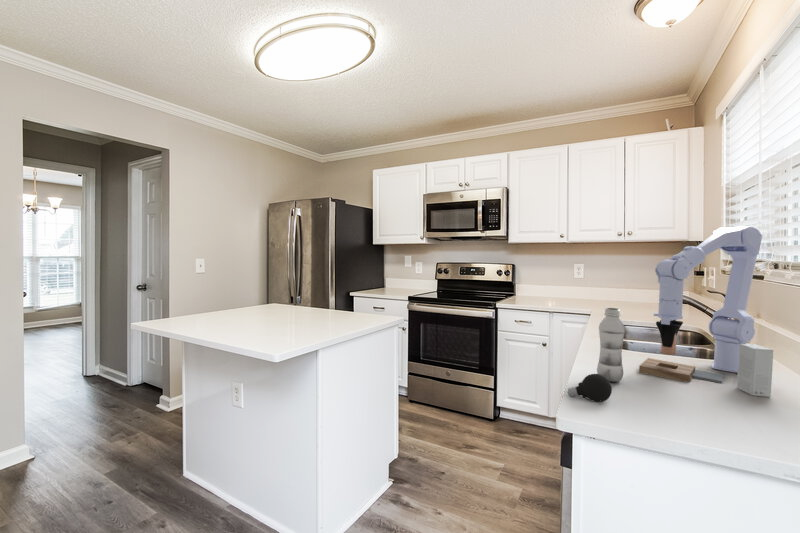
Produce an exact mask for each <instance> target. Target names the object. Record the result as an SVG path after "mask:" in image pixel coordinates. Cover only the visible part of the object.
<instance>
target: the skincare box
mask: <svg viewBox="0 0 800 533" xmlns="http://www.w3.org/2000/svg"><path fill="white" fill-rule="evenodd" d="M773 362H774V350H773V349H771V348H768V347H765V346H762V345H759V344H753V343H746V344H740V348H739V364H738V373H737V384H736V388H737V389H739V390H741V391H743V392H744V393H747V394H749V395H751V396H755V397H766V398H767V397H768V398H770V397H771V396H772V383H773V382H772V380H773V364H774V363H773Z"/></svg>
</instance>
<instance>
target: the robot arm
mask: <svg viewBox="0 0 800 533" xmlns="http://www.w3.org/2000/svg"><path fill="white" fill-rule="evenodd" d="M762 240H763V235H762V233H761V232H760V229H758V227H756V226H754V225H748V226H747V225H746V226H734V227H733V226H731V227H723V226H722V227H721V226H720V227H718V228H717V229H715V230H713V231H712V233H711V235H710V236H708V237H707V238H706V239H704V240H703V241H702V242H701V243H699V244H698V245H697V246H694V245H692V246H687V245H686V246H685V247H683V250H681V251H680V252H679V253H677V254H673V255H671V256H672V257H670V258H669V259H663V260H661V261H660V262H659V261H658V262H659V263H657V265H656V268H655V269H654V270H655V271H654V272H655V275H656V276H657V282H658V284H659V291H658V292H659V295H658V312H654V313H653V316H654V317H657V318H659V319H660V320H657V321H656V322H655V324H656V327H657V330H658V332H659V333H660V339H661V340H662V345H663V346H664V347H670V348H671V347H672V345H673V341H674V337H675V334H676V338H677V336H678V333H679V331H680V329H681V326H682V325H683V324H684V321H682V319H683V318H684V316H683V300H684V295H683V294H684V283H685V282H684V279H688V277H689V275H690V272H691V271H692V270H693V269H694V268H696V267H698V266H699V265H700V264H701V265H702V264H703V263H704V262H705V261H706V256H708V255H710V254H711V253H714V252H715V251H717V250H719V249H720V250H721V251H722V252H724V253H725V254H726V255H729V256H730V257H731V258H732V262H731V268H730V272H729V276H728V281H727V282H728V283H727V286H726V291H725V297H724V299H723V300H724V301H723V305H722V306H723V307H722V308H719V309H718V310H716V311H714V312H713V314H712V318H711V320H710V321H709V323H708V331H709V333H710V335H712V338H713V339H714V354H713V361H712V364H711V366H710V368H711V369H712V370H713V369H714V370H719V371H724V372H730V373H736V374H738V364H739V348H740V344H750V342H751V341H752V340H753V338H754V337H755V332H756V331H755V325H754V324H755V319H754V318H753V317H752V316H751V315H750V314H748V312H746V311H747V305H748V301H749V296H750V292H751V287H752V282H753V278H754V273H755V267H756V263H757V262H756V261H757V257H758V255H759V253H760V249H761V244H762Z"/></svg>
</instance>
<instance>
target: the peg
mask: <svg viewBox="0 0 800 533" xmlns="http://www.w3.org/2000/svg"><path fill="white" fill-rule="evenodd" d="M676 352H677V337H676V334H675V337H674V341H673V345H672V347H671V348H670V347H664V346H663V345H662V340H661V341H660V353H661V354H663V355H667V356H675V355H676V354H677V353H676Z"/></svg>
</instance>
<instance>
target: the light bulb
mask: <svg viewBox="0 0 800 533" xmlns="http://www.w3.org/2000/svg"><path fill="white" fill-rule="evenodd" d="M612 387H613V386H612V384H611V382H610V381H608V380H607V379H606V378H605V377H604V376H602V375H599V374H597V373H590V374H588V375H586V376H585V377H584V378H583V379H582V381H581V382H579V383H578V386H573V387H568V388H567V392H566V393H567V395H569V396H570V397H571V398H574V397H578V396H579V397H580V396H581V397H582V398H584V399H585V398H586V399H589V400H590V401H592V402H595V403H601V402H605V401H607V400H608V399H609V398H610V397H611V395H612V391H613V388H612Z"/></svg>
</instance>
